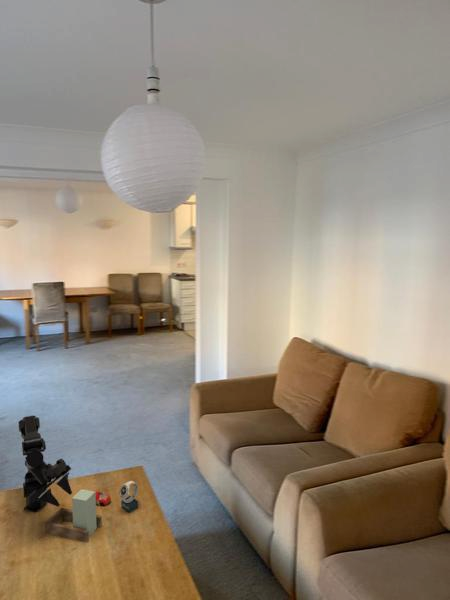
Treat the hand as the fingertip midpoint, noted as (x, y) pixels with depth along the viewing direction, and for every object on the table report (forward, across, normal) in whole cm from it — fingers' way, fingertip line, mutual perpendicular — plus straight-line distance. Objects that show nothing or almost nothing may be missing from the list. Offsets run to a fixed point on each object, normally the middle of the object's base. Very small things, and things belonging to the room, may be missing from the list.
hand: (65, 499), depth 163 cm
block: (+14, 0, +2) cm, 14 cm away
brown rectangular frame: (+11, 0, +5) cm, 12 cm away
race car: (+10, +18, +7) cm, 21 cm away
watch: (+21, +17, -4) cm, 27 cm away
